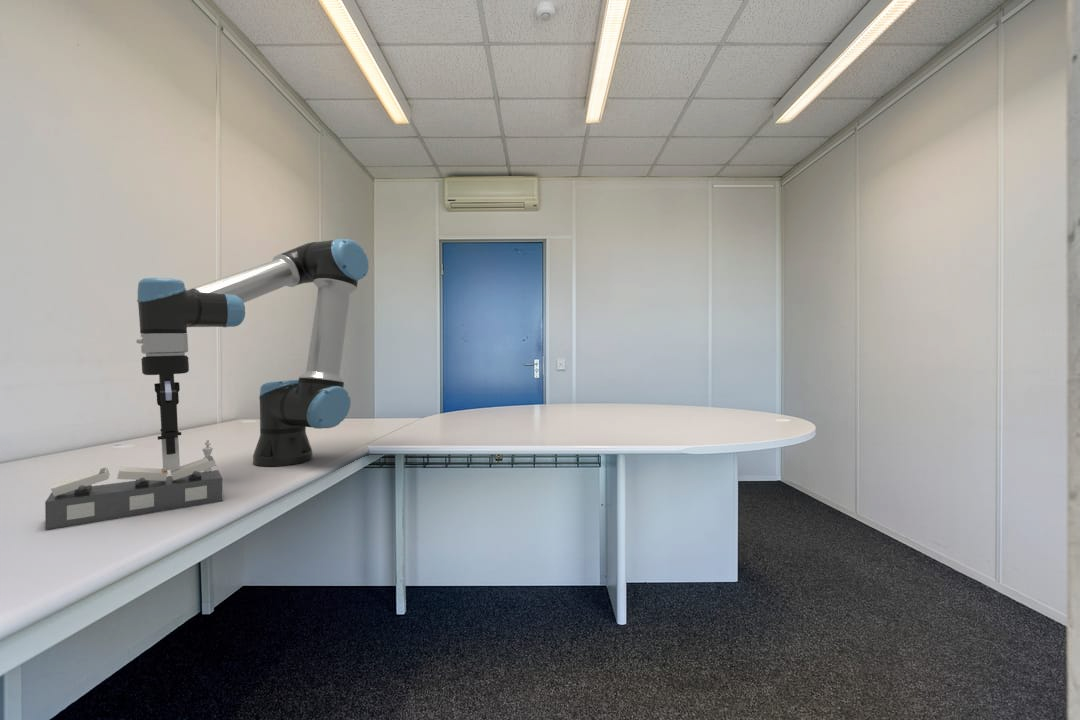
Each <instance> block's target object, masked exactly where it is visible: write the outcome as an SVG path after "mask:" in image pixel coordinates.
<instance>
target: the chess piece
mask: <svg viewBox="0 0 1080 720" xmlns="http://www.w3.org/2000/svg"><path fill="white" fill-rule="evenodd" d="M204 446H205V447H204V448H202V452H203V454H204V457H203V458H202V459H204V458H207V457H209V456H212V455H211V454H212V452H213V447H210V446H211V443H210V440H209V439H207V440H206V441H205V442H204ZM207 471H212V468H209V469H206V470H203V472H207Z"/></svg>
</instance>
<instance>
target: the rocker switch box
mask: <svg viewBox="0 0 1080 720" xmlns="http://www.w3.org/2000/svg"><path fill="white" fill-rule="evenodd" d="M219 501H220V502H223V476H222V475H221V472H220V471H219V470H218V469H217V470H211V471H207V472H204V471H200V472H198V474H197V475H193V474H191V475H189V476H186V477H183V478H180V479H177V480H174V481H173V478H172V476H171V475H169V476H168V475H167V478H166V481H155V480H145V481H144V482H139V480H130V481H123V482H122V481H121V482H115V483H106V484H99V485H93V484H92V485H89V486H86V487H85V489H84V490H79V489H76V490H73V491H70V492H67V493H64V494H61V495H57V496H54V495H53V493H52V492H51V493H50V494H49V496H48V498H47V499H46V500H45V501H44V502H45V503H44V504H45V505H44V507H45V509H44V510H45V511H44V512H45V520H44V521H45V523H44V524H45V531H47V530H55V529H60V528H66V527H67V528H68V527H72V526H80V525H85V524H86V525H87V524H91V523H97V522H103V521H109V520H115V519H121V518H129V517H132V516H133V517H134V516H138V515H139V516H140V515H145V514H153V513H158V512H165V511H170V510H178V509H183V508H189V507H194V506H195V505H196V506H200V505H201V506H202V505H206V504H214V503H218V502H219Z"/></svg>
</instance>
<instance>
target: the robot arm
mask: <svg viewBox="0 0 1080 720" xmlns="http://www.w3.org/2000/svg"><path fill="white" fill-rule="evenodd" d="M368 259H369V258H368V257H367V253H365V251H364V248H363V247H362V246H361V245H360V244H359V243H358V242H356V241H355V240H353V239H349V238H336V239H332V240H325V241H324V240H322V241H314V242H313V241H312V242H308V243H304V244H302V245H299V246H297V247H295V248H292V249H289V250H288V251H284V252H282V253H280V254H277V255H275V256H274V257H273V258H272V260H271V261H267V262H264V263H262V264H259V265H256V266H252V267H251V268H248V269H247V268H246V269H244V270H240V271H238V272H235V273H233V274H230V275H228V276H224V277H222V278H218V279H214V280H213V281H210V282H206V283H204V284H202V285H198V286H196V287H192V288H190V289H188V290H187V289H186V286H185V283H184V281H182V280H180V279H175V278H168V277H166V278H165V277H146V278H142V279H141V280H139V281H138V284H137V285H138V286H137V300H136V302H137V304H138V305H137V306H138V317H139V321H138V322H139V329H140V330H139V332H140V333H139V334H140V337H141V338H137V339H136V340H135V342H136V343H137V344H140V348H141V350H140V351H141V352H140V353H141V354H144V355H145V356H142V358H141V359H140V360H141V373H142V374H143V375H145V376H157V375H158V378H159V379H158V381H159V382H157V383H154V392H155V393H156V404H157V405H158V406H159V411H160V435H158V436H157V440H158V441H160V440H161V456H162V469H163V471H166V470H167V471H170V470H173V469H179V468H180V466H181V463H180V446H179V445H180V444H179V436H182V431H179V429H178V428H179V425H178V404H179V403H180V400H179V399H180V398H179V392H180V389H181V388H180V382H179V381H177V382H176V381H175V376H174V375H181V374H182V375H183V374H187V373H189V371H190V369H189V368H190V365H189V364H190V363H189V356H188V355H186V353H189V340H188V339H189V337H188V328H209V327H211V328H218V327H219V328H230V327H231V328H232V327H234V328H235V327H238V326H240V325H242V323H243V321H245V316H246V306H245V303H246V302H249V301H252V300H254V299H257V298H260V297H261V296H265V295H266V294H269V293H272V292H274V291H276V290H279V289H282V288H284V287H288V288H294V287H297V286H299V285H303V284H309V283H313V284H314V285H315V286H316V287H317V295H316V302H315V307H314V308H315V309H314V314H313V315H314V316H313V323H312V327H311V328H312V330H311V336H310V342H309V348H308V356H307V361H306V362H307V363H306V368H305V371H304V372H303V374H301V375H300V376H298V379H292V380H291V379H290V380H288V379H287V380H282V381H281V380H280V381H271V382H265V383H262V385H261V386H260V389H259V397H258V398H259V438H258V441H257V443H256V446H255V449H254V452H253V455H252V464H254V466H259V467H260V466H261V467H280V466H281V467H283V466H290V465H296V464H302V463H306V462H308V461H309V462H310V461H311V460H312V459H313V449H312V445H311V444H310V440H309V437H308V435H307V431H306V429H307V428H311V429H312V428H313V429H321V430H322V429H331V428H334V427H337V426H339V425H340V424H341V422H343V421H344V420H345V419H346V418H347V416H348V415H349V414H348V413H349V411H350V410H351V397H350V395H349V393H348V391H347V390H346V389H345V388H344V385H345V381H344V380H343V378H342V377H341V375H340V373H341V366H342V357H343V350H344V345H345V337H346V329H347V321H348V320H347V319H348V314H349V307H350V301H351V300H350V299H351V295H352V294H353V293H355V291H357V290H358V282H359V281H361V280H362V279H364V278H365V277H366V276H367V274H368V271H369V260H368ZM141 344H142V345H141Z"/></svg>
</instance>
